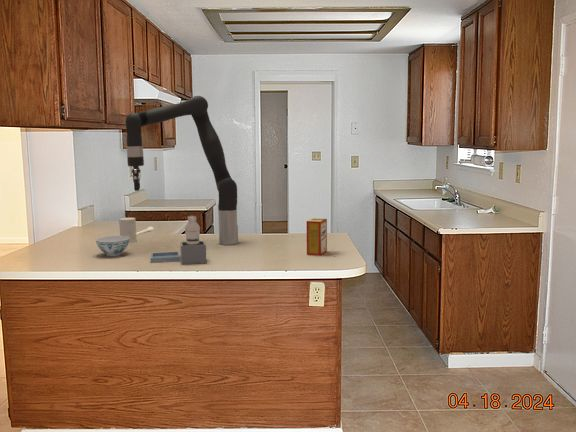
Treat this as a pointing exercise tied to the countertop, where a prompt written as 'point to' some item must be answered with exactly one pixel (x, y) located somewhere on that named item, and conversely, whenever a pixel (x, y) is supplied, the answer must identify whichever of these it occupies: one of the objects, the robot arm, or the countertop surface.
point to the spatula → (145, 230)
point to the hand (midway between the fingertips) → (137, 189)
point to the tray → (165, 257)
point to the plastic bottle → (192, 231)
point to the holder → (193, 253)
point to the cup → (128, 228)
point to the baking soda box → (316, 236)
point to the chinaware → (112, 244)
